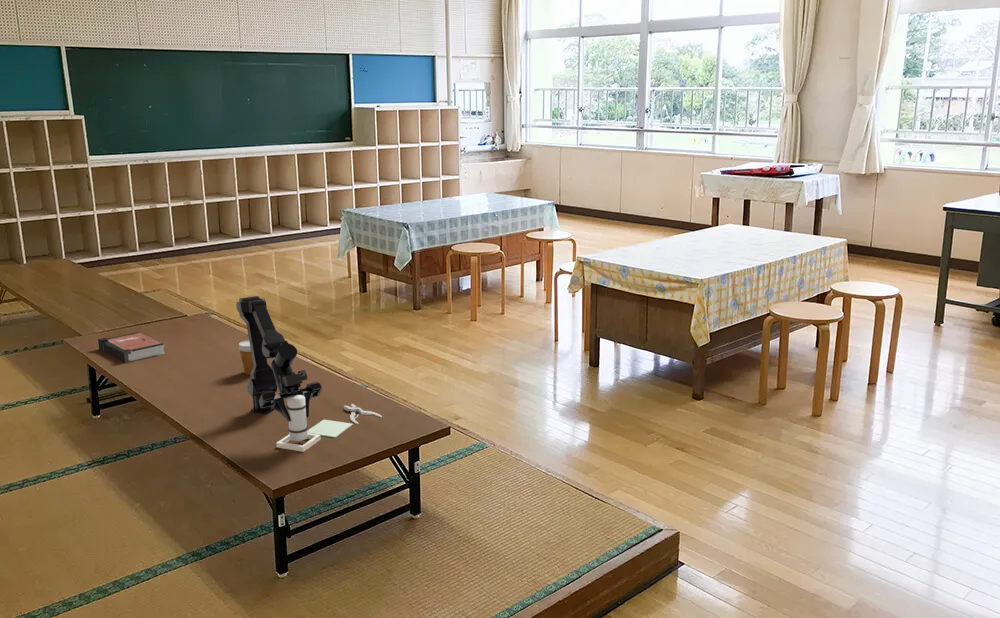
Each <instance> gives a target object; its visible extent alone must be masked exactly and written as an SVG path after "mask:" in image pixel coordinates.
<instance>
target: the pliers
mask: <svg viewBox="0 0 1000 618" xmlns="http://www.w3.org/2000/svg"><path fill="white" fill-rule="evenodd" d="M343 409H344V410H345V411H347V412H348V413H349V412H350V415H349V419H350V421H351V422H352V424H355V425H359V424H360V423H359V422H358V421H357V420H356V419H357V418H359V414H360V415H361V416H376V417H377V418H381V419H383V416H382V415H381V414H379V413H377V412H374V411H371V410H363V409H362V408H361V407H358V406H357V405H355V404H354V403H351V404H350V406H348V405H343ZM356 413H359V414H356ZM356 415H357V416H356Z"/></svg>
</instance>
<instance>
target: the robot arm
mask: <svg viewBox="0 0 1000 618" xmlns="http://www.w3.org/2000/svg"><path fill="white" fill-rule="evenodd" d="M235 305H236V311H237V313H238V314H239V318H240V319H241V320H242V321H243V322H244V323H245V324H246V329H247V336H248V340H249V342H250V348H251V354H252V359H253V365H254V366H253V369H252V371H251V374H250V375H249V377H250V380H249V382H248V385H247V390H248V394H249V395H250V396H251V397H252V404H253V405H252V406H253V407H252V408H251V409H250V412H253V413H262V414H268V413H269V412H271V411H273V410H275V411H277V412H278V413H280V414H281V415H282V417H283V418H284V419H286V421H287V422H288V423H289V422H290V421H291V420H290V416H289V413H288V409H287V405H286V404H285V400H287V398H288V397H290V396H293V395H302V396H304V397H305V403H306V419H307V418H309V417H310V401H311V399H312V398H316V397H319V396H320V394H321V392H322V390H323V387H322V384H321V383H320V382H319V381H314V382H309V383H307V384H306V385H305V388H301V387H302V384H303V381H304V382H305V381H307V380H308V375H307V372H306V369H301V370H298V371H297V373H296V372H295V371H293V367H292V366H293V365H294V362H295V361H296V360H295V359H296V357H297V356H298V349H297V347H296V346H294V344H292V343H289V342H288V340H286V339H285V337H284V335H283V334H281V332H278V331H277V330H276V327H275V325H274V322H273V320H272V318H271V315H270V313H269V311H268V308H267V302H266V299H265V298H261V297H260V296H259V295H254V296H248V297H247V296H245V297H239V300H238V301H236V304H235ZM268 359H273V360H272V361H271V363H270V364H269V363H268ZM278 390H279V392H278V393H276V392H277V391H278Z"/></svg>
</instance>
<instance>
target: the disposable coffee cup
mask: <svg viewBox="0 0 1000 618" xmlns="http://www.w3.org/2000/svg"><path fill="white" fill-rule="evenodd" d="M237 348H238V351H239V353H240V357H241V362H242V366H243V369H244V370H243V371H244V374H245V375H248V376H250V374H251V371H252V369H253V366H254V365H253V359H252V354H251V348H250V342H249V339H248V340H247V339H246V340H242V341H241V342H239V343H238V347H237Z"/></svg>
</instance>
